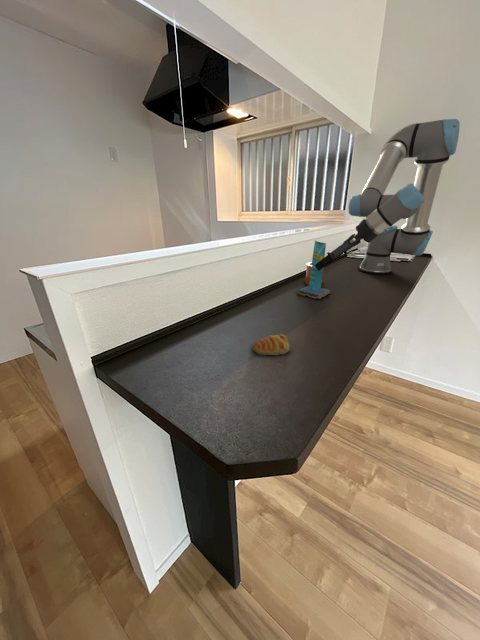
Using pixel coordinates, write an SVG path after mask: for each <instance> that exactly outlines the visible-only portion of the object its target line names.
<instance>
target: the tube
mask: <svg viewBox="0 0 480 640" xmlns="http://www.w3.org/2000/svg"><path fill="white" fill-rule="evenodd" d="M313 246H314V247H313V251H312V252H313V253H312V258H311V262H312V266H311V274H310V281H309V290H312V291H319V290H320V289H321V288H322V285H321V281H322V273H323V268H322V269H321V270H320V271H318V270H317V268H316V267H315V266H314V265H316V264H317V263H318V262H319V261H321V260H322V259H323V258H324V257H326V248H327V243H326V242H321V241H317V240H314V245H313Z"/></svg>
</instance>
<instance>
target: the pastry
mask: <svg viewBox="0 0 480 640" xmlns="http://www.w3.org/2000/svg"><path fill="white" fill-rule="evenodd" d="M252 351H253V352H254V353H256V354H258V355H260V356H261V355H262V356H279V355H285V354H286V353H288V352H289V351H290V344H289V339H288V338H287V336H286V335H285V334H282V333H280V334H274V335H273V334H272V335H266V337H264V338H261V339H259V340H257V341H255V342H254V343H253V345H252Z"/></svg>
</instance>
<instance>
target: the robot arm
mask: <svg viewBox="0 0 480 640" xmlns="http://www.w3.org/2000/svg"><path fill="white" fill-rule="evenodd" d="M460 126H461V125H460V121H459V119H457V118H444V119H439V120H431V121H426V122H416V123H412V124H409V125H406V126H404V127H402V128H401V129H399V130H397V132H395V133H394V134H393V135H391V137H389V139H387V141H386V142H385V143H384V145H383V146H382V148H381V150H380V153H379V159H378V161H377V163H376V165H375V167H374V169H373V170H372V173H371V174H370V176H369V178H368V180H367V182H366V184H365V185H364V188H363V190H362V191H361V193H357V194H354V195H352V196H351V198H349V199H350V200H349V202H348V208H347V209H348V214H349V215H350V216H352V217H359V218H364V219H361V221H360V222H358V223H357V224H356V225H355V231H356V232H357V233H353V234H351V235H350V236H349V237H348V238H347V239H346V240H344V241H343V242H342V243H341V244H340V245H339V246H338V247H336V248H334V249H333V250H332V251H331V252H330V251H328V252H326V254H327V255H325V257H324V258H323V259H322V260H321V261H319V262H318V263H317V264H316V265H314V266H315V267H316V268H317V270H318V271H320V270H321V269H322V268H324V267H326V266H327V265H330V264H332V263H333V262H335V261H336V260H337V259H339V258H340V257H341V256H343V255H347V254H348V251H349V250H351V249H353V248H354V247H356V246H358V245H359V244H361V243H362V240H363V241H364V242H366V243H367V246H366V247H367V248H366V253H365V256H364V258H363V259H362V262H361V263H360V265H359V271H361V272H362V273H367V274H370V275H388V274H390V273H391V270H392V266H391V255H392V254H399V255H401V254H402V255H407V256H422V255H423V254H424V253H425V251H426V249H427V247H428V244H429V241H430V240H431V238H432V236H433V233H434V232H433V230H431V225H430V224H428V222H429V219H430V215H431V212H432V207H433V204H434V201H435V197H436V192H437V188H438V185H439V181H440V177H441V174H442V169H443V166H444V164H446V163H447V162H448V161H449V160H450V156H453V155H454V154H456V151H457V147H458V142H459V136H460V128H461V127H460ZM409 158H410V159H412V158H414V164H415V166H416V167H417V168H416V173H415V178H414V183H407V184H406V185H404V186H403V187H401V188H400V189H399V190H397V192H396V193H394V194H385V192H386V190H387V189H388V186H389V184H390V182H391V180H392V178H393V176H394V174H395V172H396V170H397V168H398V166H399V164H401V163H402V162H403V161H404V160H405V159H409ZM400 220H406V221H405V223H404V224H402V225H401V227H400V228H398V225H396V223H398V222H399V221H400ZM324 269H325V268H324Z"/></svg>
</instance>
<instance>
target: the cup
mask: <svg viewBox="0 0 480 640" xmlns="http://www.w3.org/2000/svg"><path fill="white" fill-rule="evenodd" d="M311 266H312V261H311V262H307V263H306V270H305V279H304V284H305V285H306V286H308V285H309V281H310V274H311ZM325 267H326V266H325ZM325 267H324V268H323V273H322V281H321V286H322V285H323V283H324V282H323V281H324V274H325Z"/></svg>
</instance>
